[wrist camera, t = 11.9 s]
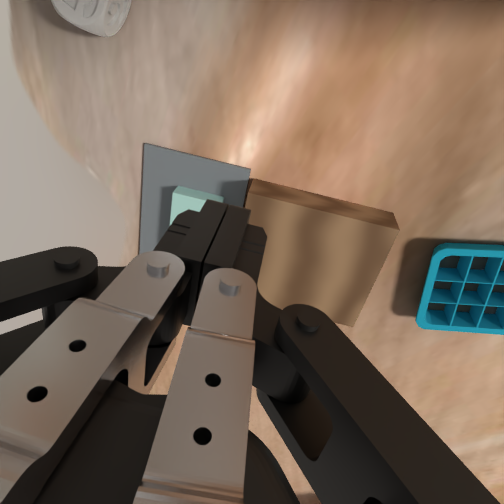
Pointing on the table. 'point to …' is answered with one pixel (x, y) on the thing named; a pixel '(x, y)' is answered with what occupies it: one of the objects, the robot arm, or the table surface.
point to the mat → (186, 175)
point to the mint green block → (189, 200)
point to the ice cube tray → (479, 299)
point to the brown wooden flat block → (319, 249)
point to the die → (94, 14)
